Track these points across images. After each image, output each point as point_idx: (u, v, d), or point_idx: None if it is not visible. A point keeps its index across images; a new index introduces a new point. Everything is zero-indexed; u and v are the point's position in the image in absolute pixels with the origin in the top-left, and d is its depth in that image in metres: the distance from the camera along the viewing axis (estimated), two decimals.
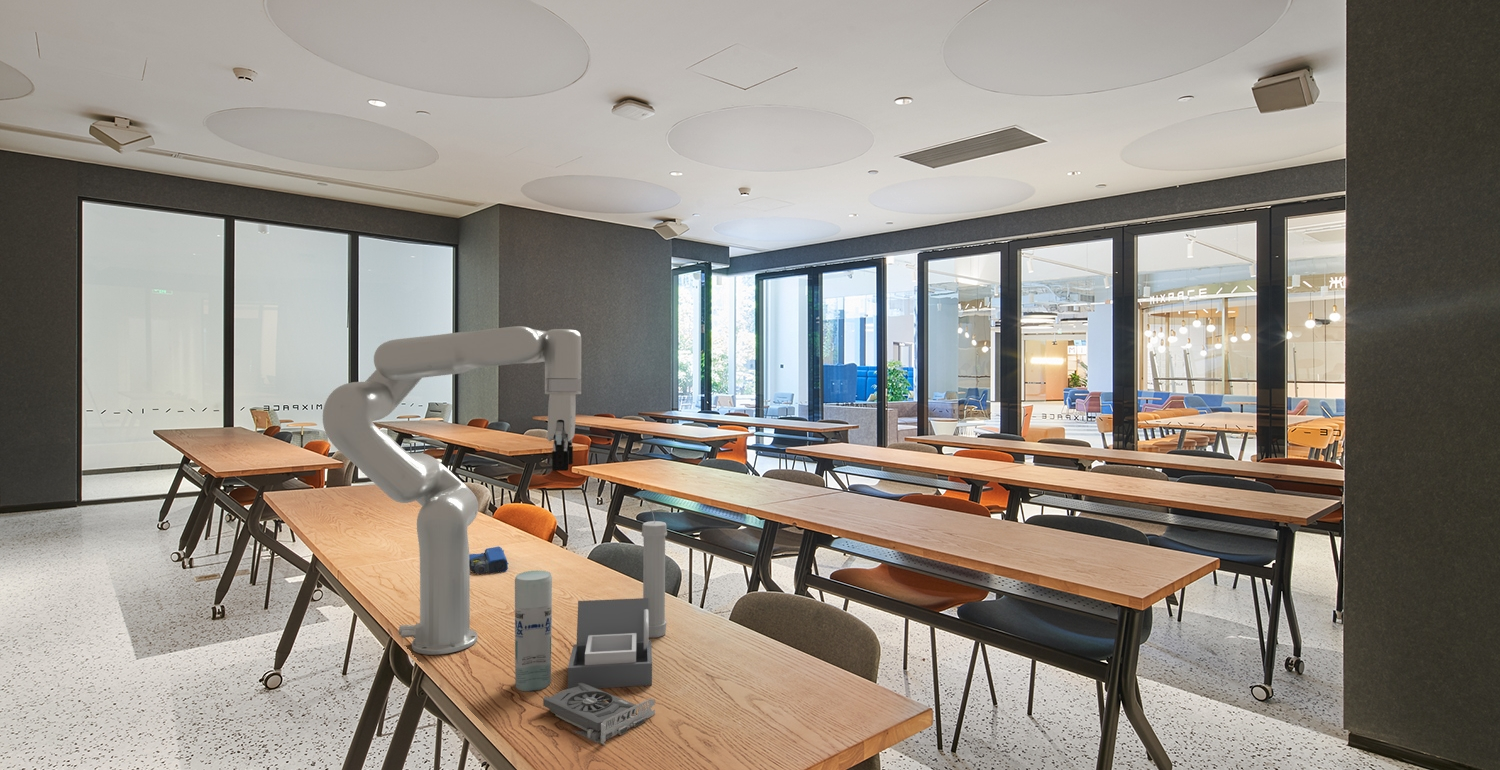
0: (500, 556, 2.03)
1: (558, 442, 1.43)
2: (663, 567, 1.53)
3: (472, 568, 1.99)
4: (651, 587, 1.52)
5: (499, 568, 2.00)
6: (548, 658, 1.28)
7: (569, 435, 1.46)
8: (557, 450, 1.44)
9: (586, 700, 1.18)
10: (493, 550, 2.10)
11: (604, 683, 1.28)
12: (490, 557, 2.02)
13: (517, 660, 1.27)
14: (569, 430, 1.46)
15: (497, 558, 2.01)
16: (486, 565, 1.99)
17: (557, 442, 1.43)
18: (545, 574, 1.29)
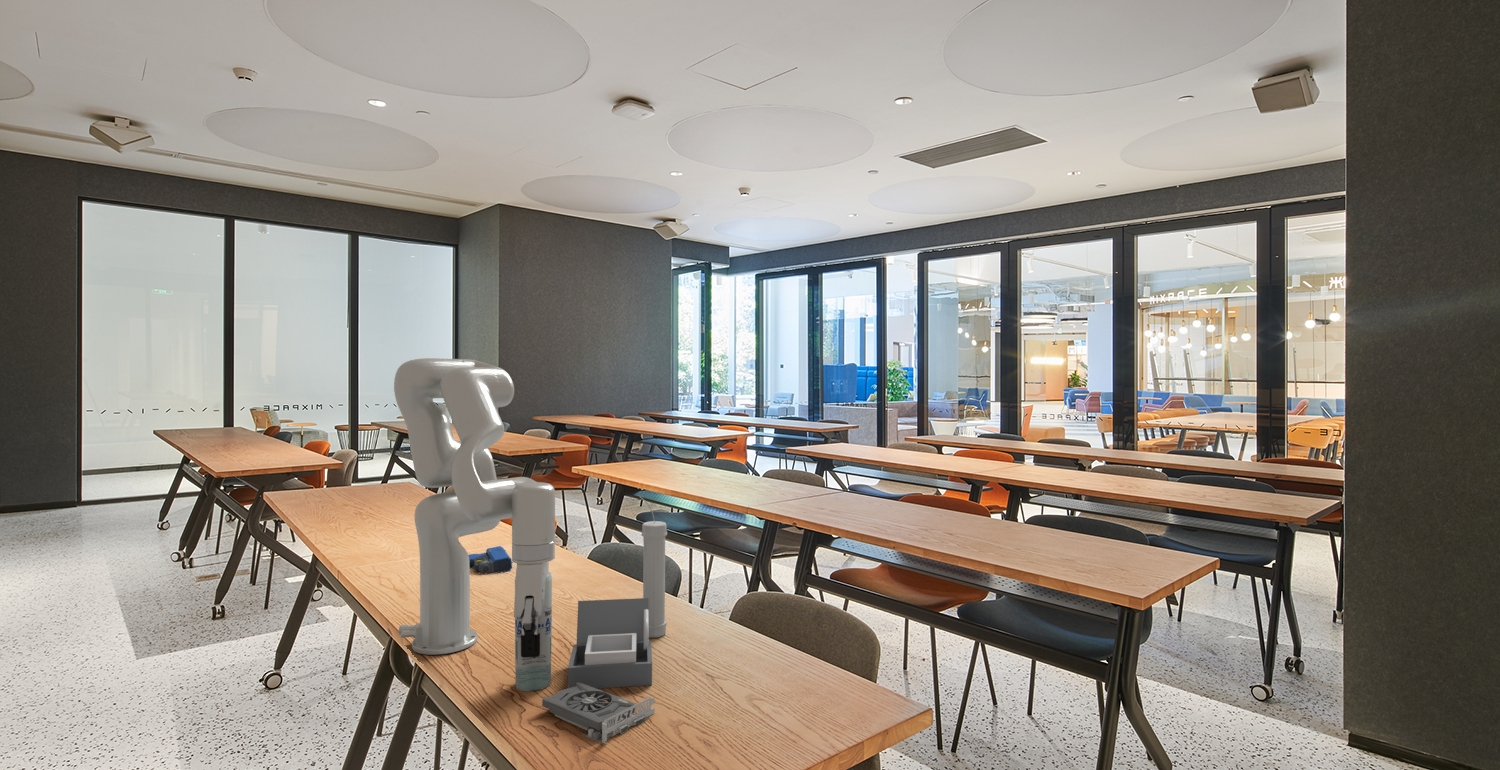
0: (504, 555, 2.04)
1: (527, 629, 1.23)
2: (663, 567, 1.53)
3: (476, 567, 2.00)
4: (651, 587, 1.52)
5: (503, 567, 2.01)
6: (548, 658, 1.28)
7: (540, 613, 1.25)
8: (526, 635, 1.24)
9: (585, 700, 1.18)
10: (495, 550, 2.10)
11: (604, 683, 1.28)
12: (494, 556, 2.03)
13: (517, 660, 1.27)
14: (540, 607, 1.24)
15: (501, 557, 2.02)
16: (490, 564, 2.00)
17: (526, 628, 1.23)
18: None
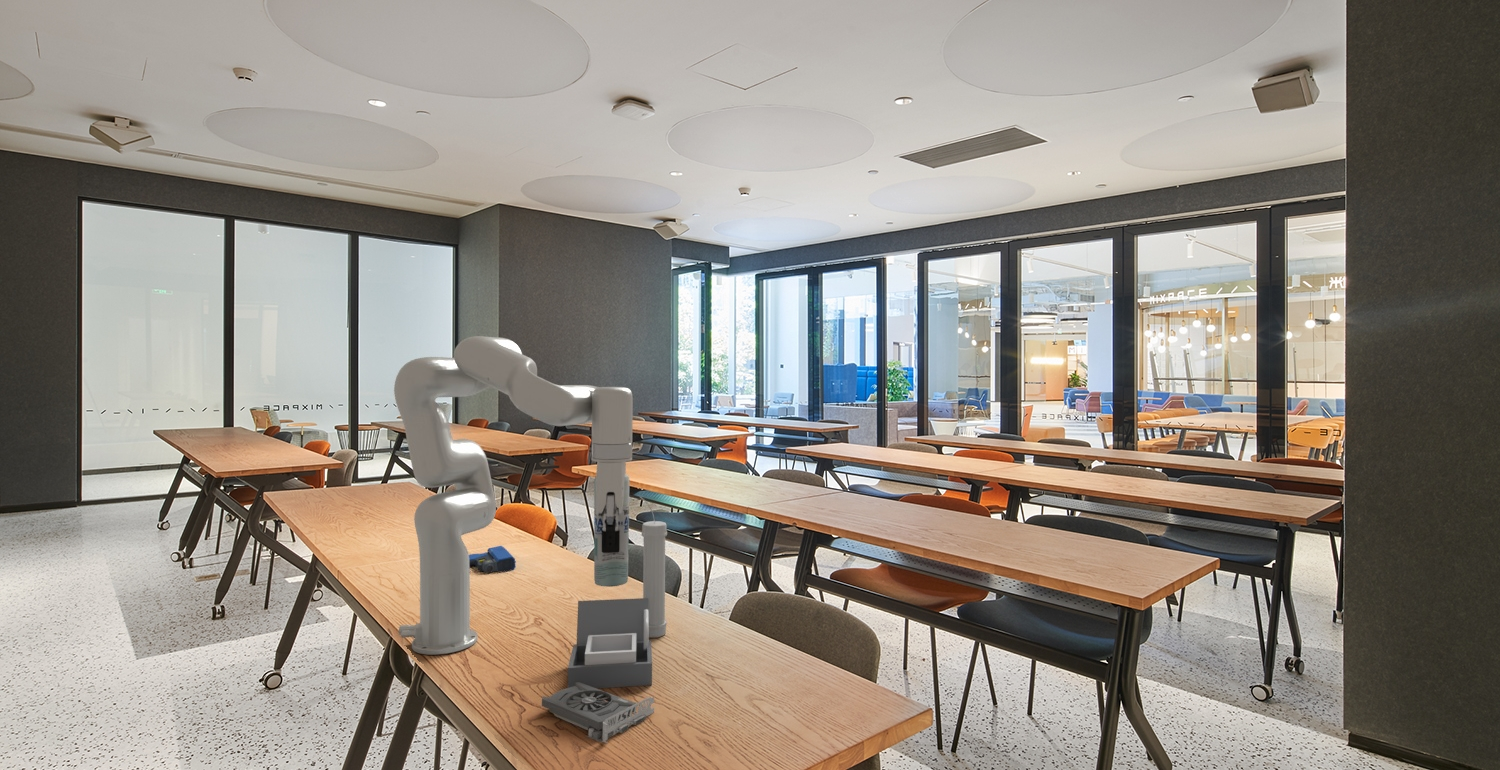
0: (507, 555, 2.04)
1: (609, 523, 1.26)
2: (663, 567, 1.53)
3: (480, 567, 2.00)
4: (651, 587, 1.52)
5: (507, 566, 2.02)
6: (626, 556, 1.32)
7: (620, 509, 1.28)
8: (607, 530, 1.28)
9: (585, 699, 1.18)
10: (497, 549, 2.11)
11: (604, 683, 1.28)
12: (497, 556, 2.04)
13: (597, 557, 1.31)
14: (621, 504, 1.28)
15: (505, 557, 2.02)
16: (494, 564, 2.00)
17: (608, 523, 1.26)
18: None
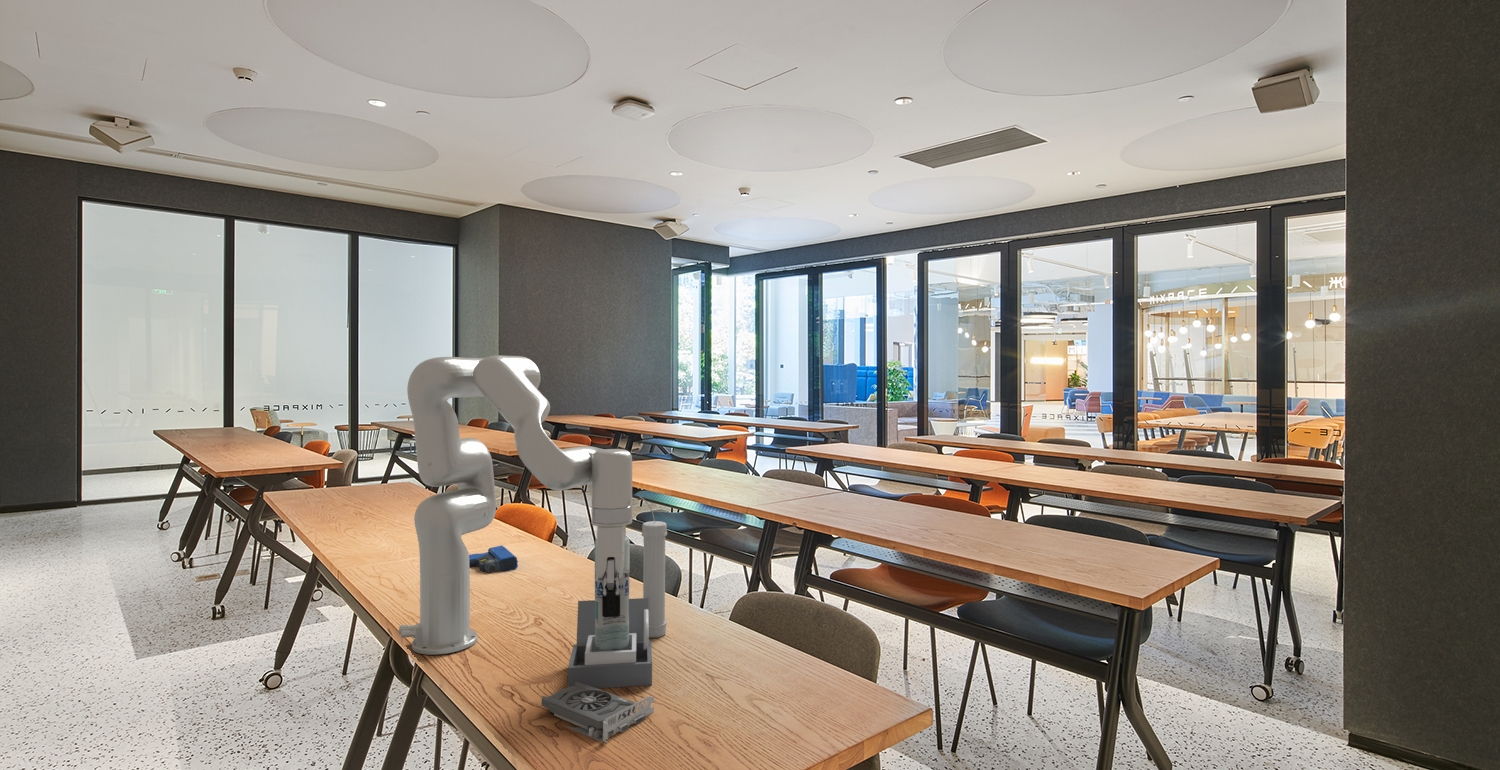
0: (509, 554, 2.05)
1: (610, 589, 1.27)
2: (663, 567, 1.53)
3: (482, 567, 2.00)
4: (651, 587, 1.52)
5: (509, 566, 2.02)
6: (627, 619, 1.32)
7: (621, 574, 1.29)
8: (608, 595, 1.28)
9: (585, 699, 1.18)
10: (498, 549, 2.11)
11: (604, 683, 1.28)
12: (499, 555, 2.04)
13: (598, 620, 1.31)
14: (621, 568, 1.28)
15: (507, 556, 2.03)
16: (496, 563, 2.01)
17: (609, 588, 1.27)
18: None
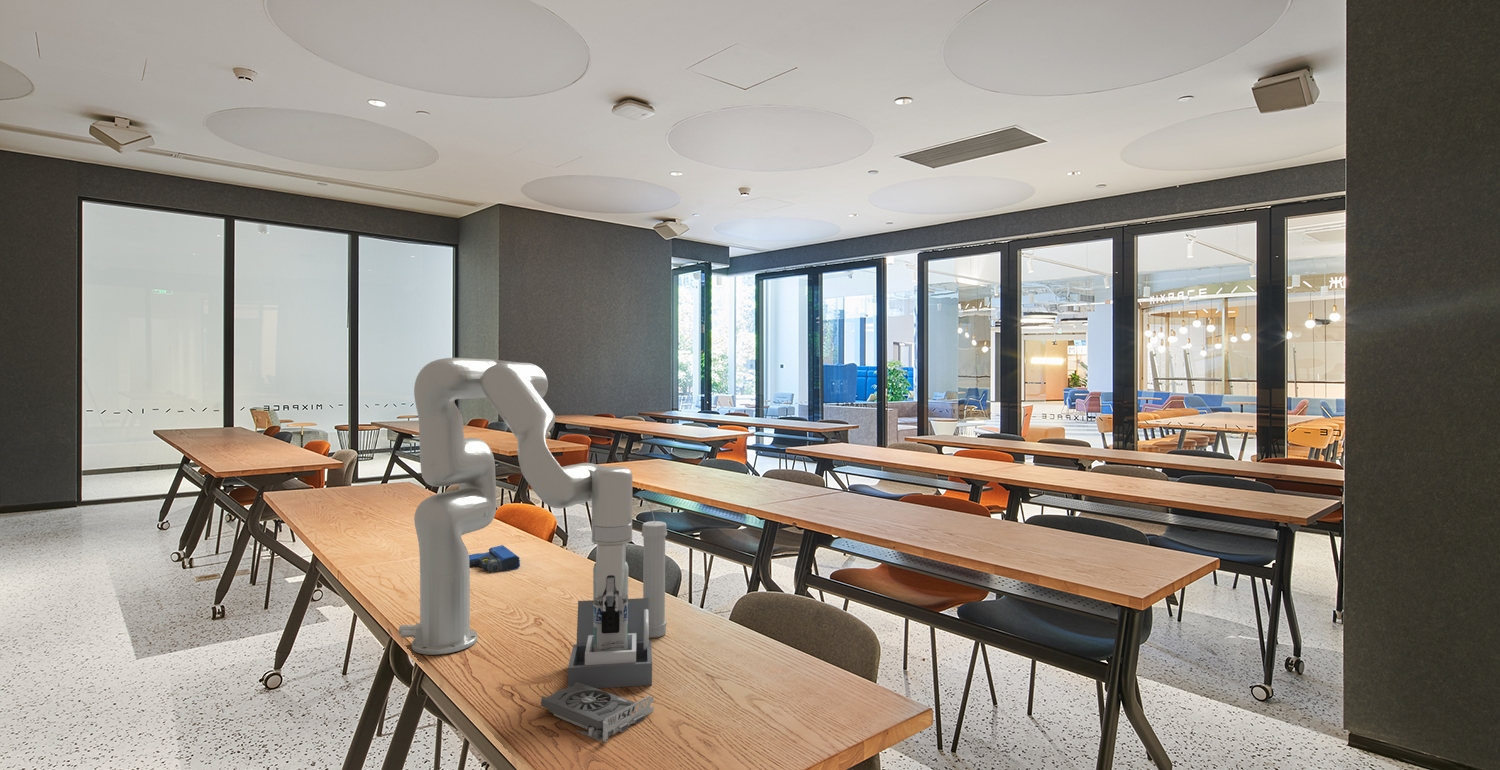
0: (511, 554, 2.05)
1: (609, 604, 1.25)
2: (663, 567, 1.53)
3: (484, 566, 2.01)
4: (651, 587, 1.52)
5: (512, 565, 2.03)
6: (626, 644, 1.33)
7: (620, 592, 1.29)
8: (607, 611, 1.27)
9: (585, 699, 1.18)
10: (499, 549, 2.11)
11: (604, 683, 1.28)
12: (501, 555, 2.05)
13: (596, 646, 1.31)
14: (621, 587, 1.29)
15: (509, 556, 2.04)
16: (499, 563, 2.01)
17: (608, 604, 1.25)
18: None
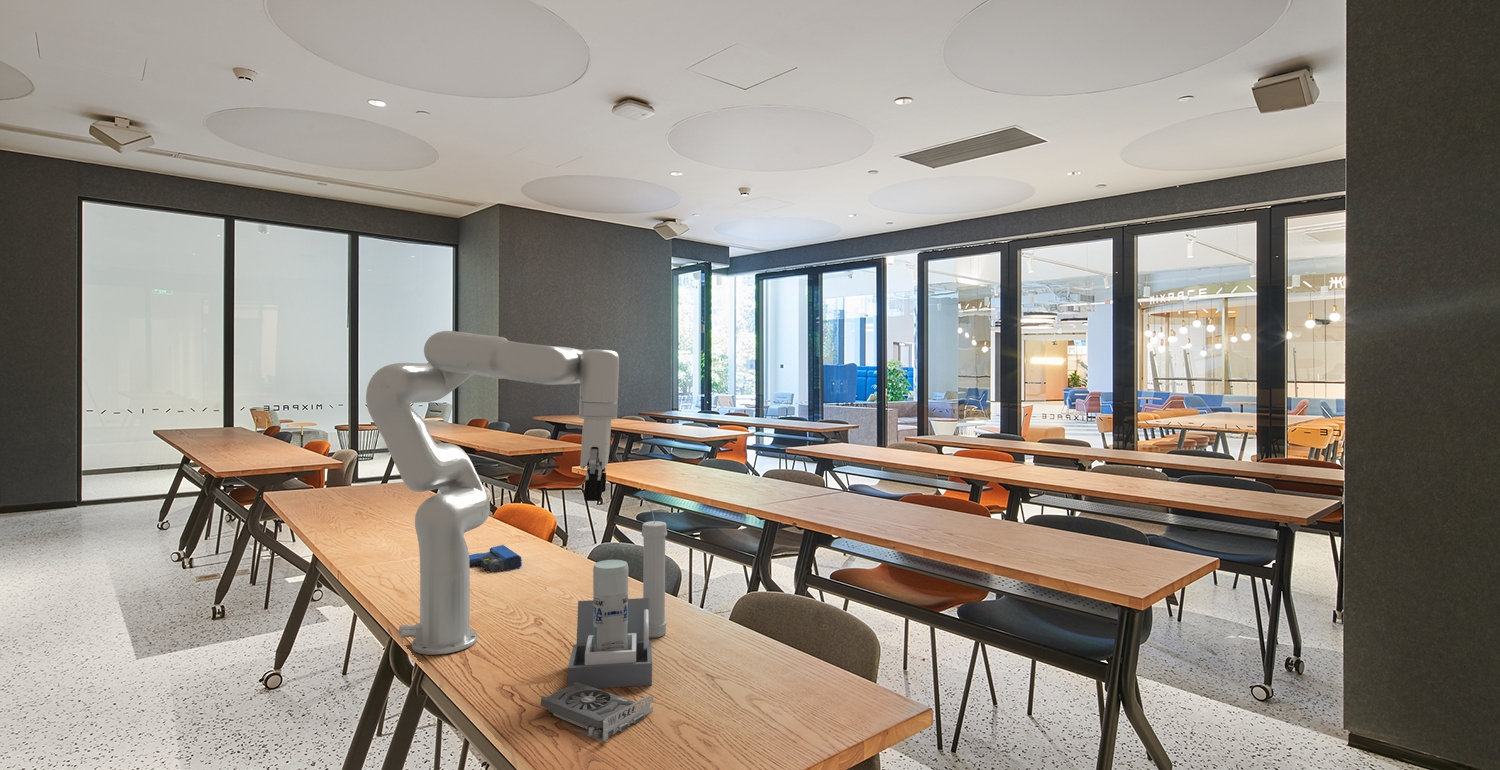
0: (512, 553, 2.06)
1: (592, 471, 1.34)
2: (663, 567, 1.53)
3: (486, 566, 2.01)
4: (651, 587, 1.52)
5: (513, 565, 2.04)
6: (626, 644, 1.33)
7: (603, 463, 1.37)
8: (590, 479, 1.36)
9: (584, 699, 1.18)
10: (500, 548, 2.12)
11: (604, 683, 1.28)
12: (502, 555, 2.05)
13: (596, 646, 1.31)
14: (604, 458, 1.37)
15: (511, 555, 2.04)
16: (501, 562, 2.02)
17: (591, 471, 1.34)
18: (622, 563, 1.33)
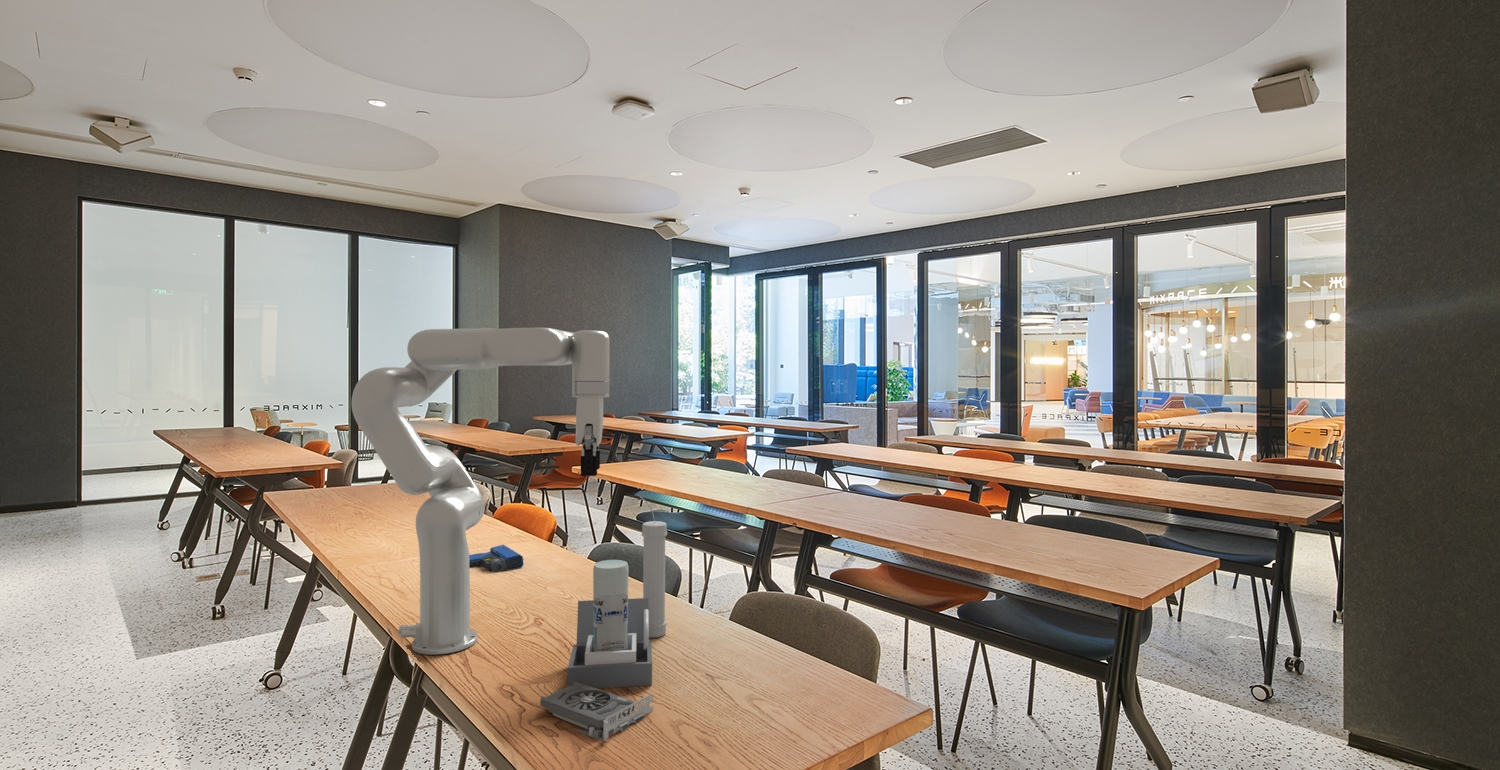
0: (514, 553, 2.06)
1: (587, 447, 1.39)
2: (663, 567, 1.53)
3: (488, 566, 2.01)
4: (651, 587, 1.52)
5: (515, 564, 2.04)
6: (626, 644, 1.33)
7: (598, 439, 1.42)
8: (586, 455, 1.40)
9: (584, 698, 1.18)
10: (501, 548, 2.12)
11: (604, 683, 1.28)
12: (504, 554, 2.05)
13: (596, 646, 1.31)
14: (598, 434, 1.42)
15: (512, 555, 2.04)
16: (503, 562, 2.02)
17: (586, 447, 1.39)
18: (622, 563, 1.33)
